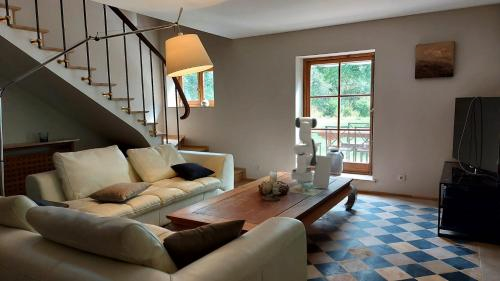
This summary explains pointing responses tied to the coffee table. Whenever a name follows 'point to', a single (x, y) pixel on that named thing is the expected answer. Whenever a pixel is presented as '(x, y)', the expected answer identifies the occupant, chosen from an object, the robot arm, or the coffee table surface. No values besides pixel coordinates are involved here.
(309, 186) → the coaster
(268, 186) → the owl figurine
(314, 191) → the mat
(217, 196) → the coffee table surface
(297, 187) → the riser
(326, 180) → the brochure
